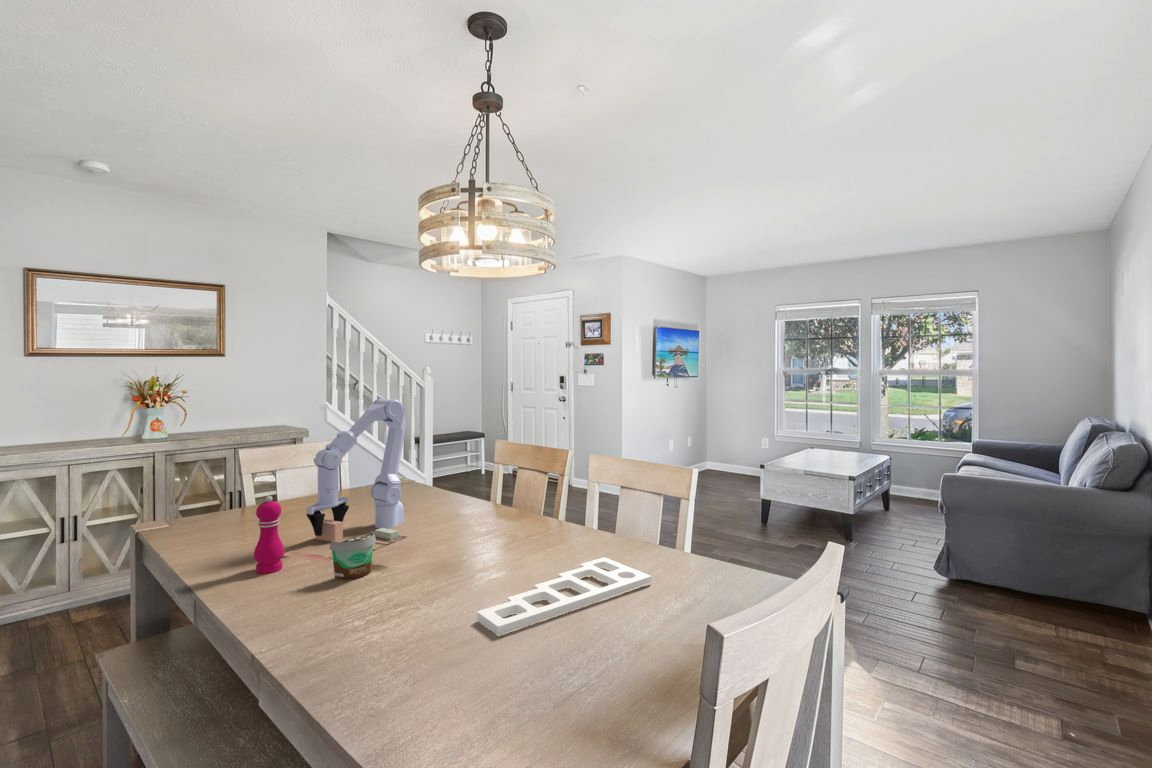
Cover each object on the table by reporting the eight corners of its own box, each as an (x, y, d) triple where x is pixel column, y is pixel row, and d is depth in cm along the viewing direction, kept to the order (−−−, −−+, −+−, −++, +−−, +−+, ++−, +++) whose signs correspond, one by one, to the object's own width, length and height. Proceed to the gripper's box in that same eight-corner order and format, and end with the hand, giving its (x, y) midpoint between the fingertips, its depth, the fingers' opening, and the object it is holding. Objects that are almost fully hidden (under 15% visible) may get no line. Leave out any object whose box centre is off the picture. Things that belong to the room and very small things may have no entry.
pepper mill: (271, 575, 146) (270, 499, 145) (247, 573, 147) (246, 498, 146) (290, 566, 153) (290, 493, 152) (267, 564, 154) (267, 492, 154)
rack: (377, 536, 180) (377, 532, 179) (407, 541, 175) (407, 536, 175) (341, 550, 166) (341, 545, 166) (373, 556, 161) (373, 551, 161)
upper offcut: (382, 533, 178) (382, 527, 178) (398, 537, 174) (398, 530, 174) (374, 536, 175) (374, 530, 175) (390, 539, 172) (390, 533, 172)
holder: (498, 639, 113) (498, 626, 113) (457, 609, 127) (457, 597, 127) (651, 586, 141) (651, 576, 141) (604, 566, 155) (604, 557, 155)
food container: (342, 585, 139) (342, 546, 139) (329, 579, 143) (329, 541, 143) (385, 571, 149) (385, 534, 149) (372, 566, 153) (372, 530, 152)
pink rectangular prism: (323, 541, 175) (323, 519, 175) (342, 544, 172) (342, 521, 172) (315, 543, 172) (315, 521, 172) (335, 547, 169) (335, 524, 169)
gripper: (336, 482, 180) (336, 524, 180) (298, 491, 167) (299, 536, 167) (353, 484, 177) (353, 526, 178) (316, 494, 164) (316, 539, 164)
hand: (328, 531), depth 172 cm, fingers open, 7 cm apart
